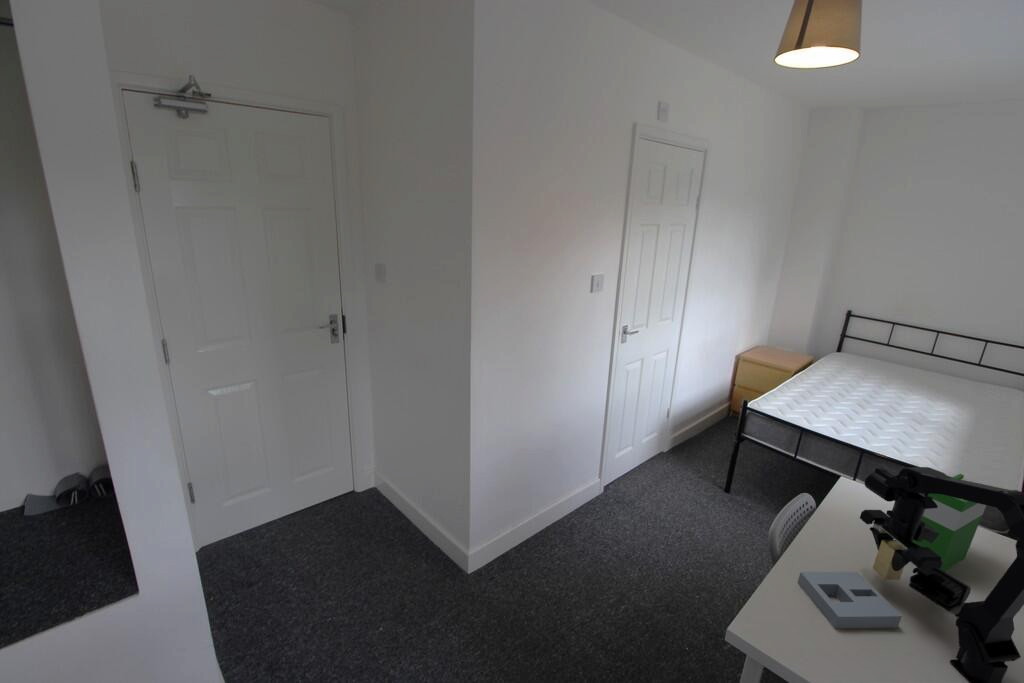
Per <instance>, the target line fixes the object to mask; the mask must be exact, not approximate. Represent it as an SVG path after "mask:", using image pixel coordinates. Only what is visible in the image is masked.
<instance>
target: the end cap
mask: <svg viewBox="0 0 1024 683" xmlns="http://www.w3.org/2000/svg"><path fill="white" fill-rule="evenodd" d="M912 573H913V575H912V576H910V577H909V578H910V579H909V584H908V586H909V588H911V589H913V590H914V591H916V592H917V593H919V594H921V595H922V596H924V597H925V598H927V600H928V599H929V601H931V602H933V603H934V604H936V605H938V606H939V607H941V608H943V609H944V610H945V611H948V612H950V611H952V610H954V609H955V608H958V607H960V606H961V607H962V606H963V605H964V604H965V603H966V601H967V599H968V598H969V596H970V594H971V591H972V588H971V587H970V585H968V584H966V583H964V582H963V581H961V580H960V579H958V578H956V577H954V576H953V575H951V574H950V573H948V572H946V571H945V572H944V571H943V570H941V569H939V568H919V567H916V566H915V567H914V568H913V569H912Z"/></svg>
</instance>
